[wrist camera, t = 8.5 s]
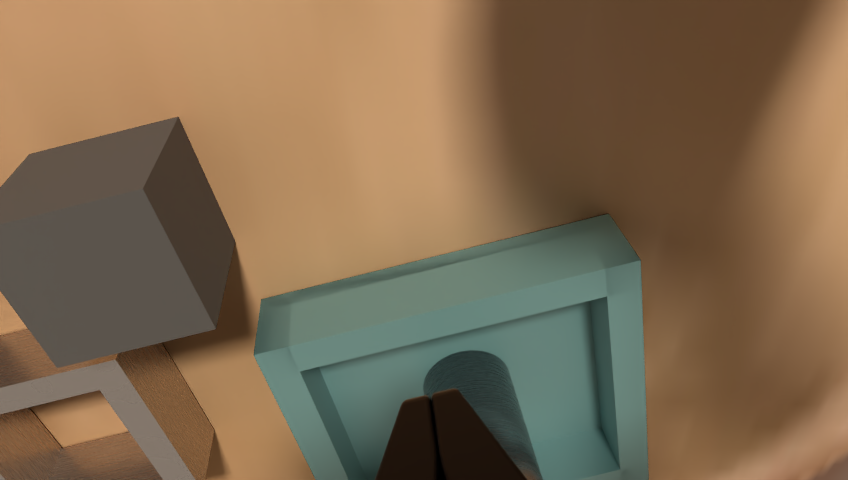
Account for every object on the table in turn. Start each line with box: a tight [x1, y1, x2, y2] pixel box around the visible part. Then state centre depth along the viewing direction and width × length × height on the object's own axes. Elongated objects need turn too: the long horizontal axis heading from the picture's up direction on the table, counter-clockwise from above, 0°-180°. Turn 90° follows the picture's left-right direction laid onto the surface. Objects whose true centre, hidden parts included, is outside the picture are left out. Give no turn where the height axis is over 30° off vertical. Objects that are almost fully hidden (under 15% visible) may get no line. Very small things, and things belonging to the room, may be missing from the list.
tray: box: [254, 214, 649, 480], centre depth 22 cm, size 11×10×2 cm
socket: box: [0, 329, 214, 480], centre depth 21 cm, size 6×6×2 cm
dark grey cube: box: [0, 117, 235, 368], centre depth 17 cm, size 4×4×4 cm
